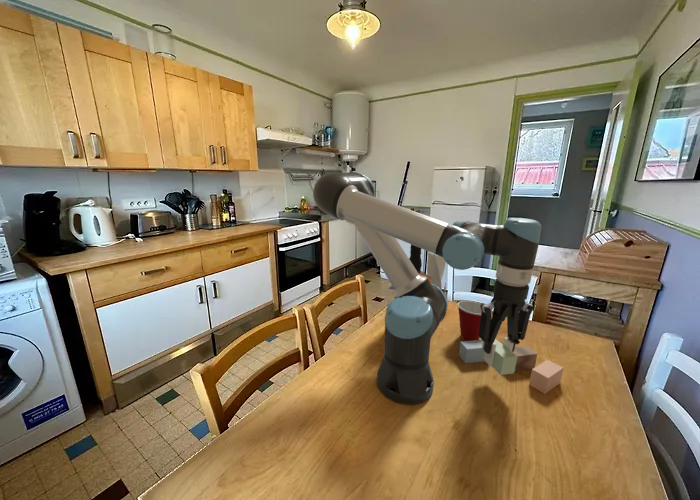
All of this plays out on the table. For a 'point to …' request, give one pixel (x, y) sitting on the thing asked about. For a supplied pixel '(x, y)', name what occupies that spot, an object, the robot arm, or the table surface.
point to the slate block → (471, 351)
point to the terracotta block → (546, 376)
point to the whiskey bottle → (417, 260)
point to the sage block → (502, 359)
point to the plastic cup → (469, 319)
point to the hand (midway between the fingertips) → (496, 361)
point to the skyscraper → (436, 269)
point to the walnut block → (525, 358)
